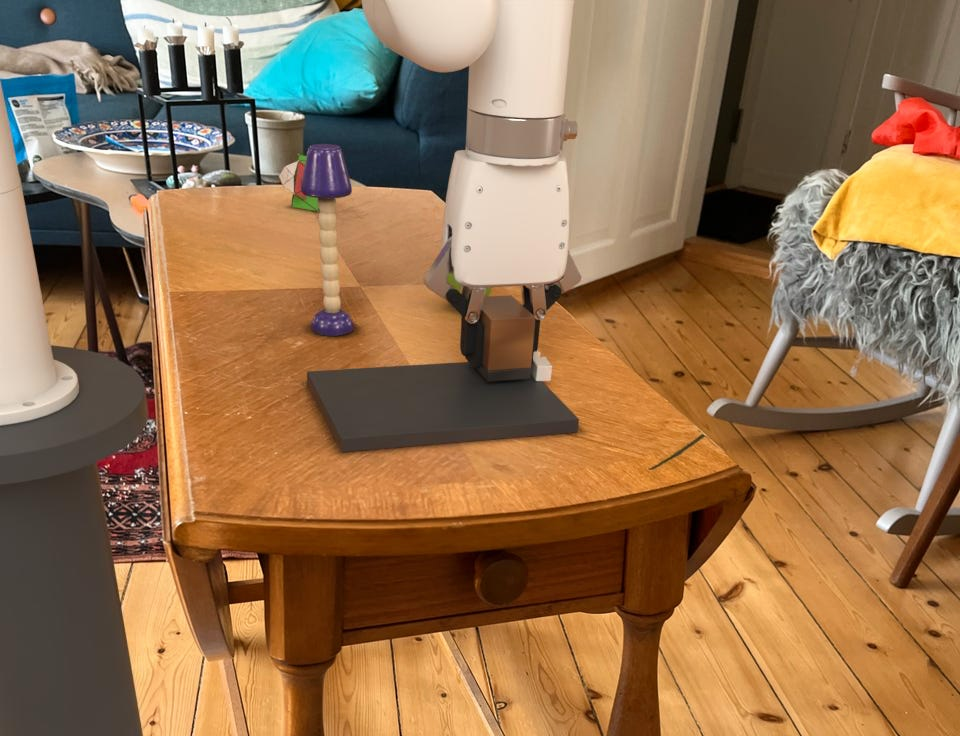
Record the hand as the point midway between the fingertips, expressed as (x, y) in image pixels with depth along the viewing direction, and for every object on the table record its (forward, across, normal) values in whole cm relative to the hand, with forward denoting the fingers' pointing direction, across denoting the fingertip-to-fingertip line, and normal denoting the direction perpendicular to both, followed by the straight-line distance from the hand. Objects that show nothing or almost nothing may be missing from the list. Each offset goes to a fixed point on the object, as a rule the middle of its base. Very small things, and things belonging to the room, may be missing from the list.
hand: (498, 359), depth 92 cm
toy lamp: (+3, +12, -17) cm, 21 cm away
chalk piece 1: (+1, -4, -2) cm, 4 cm away
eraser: (+1, 0, 0) cm, 1 cm away
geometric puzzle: (+3, +5, -65) cm, 65 cm away
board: (+2, +7, +4) cm, 8 cm away
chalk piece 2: (+1, -4, +2) cm, 4 cm away
